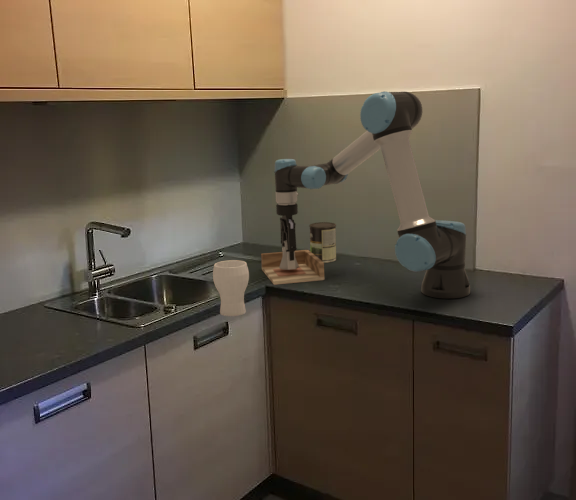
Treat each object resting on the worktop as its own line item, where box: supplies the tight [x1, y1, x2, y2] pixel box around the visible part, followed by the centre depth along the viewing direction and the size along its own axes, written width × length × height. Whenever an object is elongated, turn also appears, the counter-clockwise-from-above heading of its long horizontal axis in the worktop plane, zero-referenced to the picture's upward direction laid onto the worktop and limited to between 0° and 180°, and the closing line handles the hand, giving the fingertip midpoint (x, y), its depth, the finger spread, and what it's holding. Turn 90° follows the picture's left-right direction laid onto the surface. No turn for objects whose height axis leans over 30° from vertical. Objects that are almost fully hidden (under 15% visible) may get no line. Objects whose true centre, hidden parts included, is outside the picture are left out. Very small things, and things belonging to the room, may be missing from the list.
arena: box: [260, 249, 325, 286], centre depth 239 cm, size 22×18×6 cm
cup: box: [212, 259, 250, 317], centre depth 197 cm, size 11×11×15 cm
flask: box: [279, 240, 299, 270], centre depth 237 cm, size 7×7×10 cm
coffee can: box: [308, 221, 337, 264], centre depth 258 cm, size 10×10×14 cm
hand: (289, 266), depth 238 cm, fingers closed on flask, 7 cm apart
